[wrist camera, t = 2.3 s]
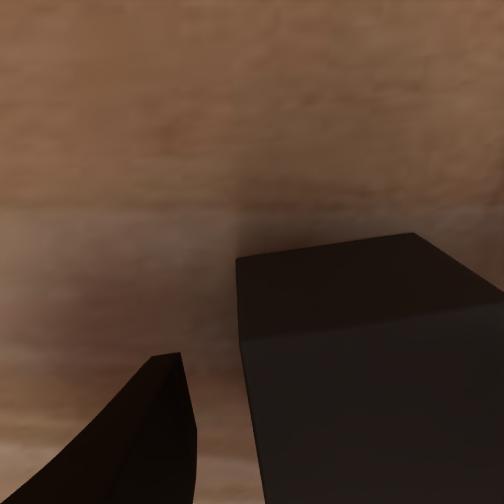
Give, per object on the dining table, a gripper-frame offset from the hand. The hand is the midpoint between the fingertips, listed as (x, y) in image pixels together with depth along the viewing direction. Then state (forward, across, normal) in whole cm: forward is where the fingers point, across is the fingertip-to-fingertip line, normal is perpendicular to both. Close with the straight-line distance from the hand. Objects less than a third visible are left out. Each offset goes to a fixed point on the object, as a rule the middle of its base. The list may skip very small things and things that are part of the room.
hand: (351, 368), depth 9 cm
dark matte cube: (+2, 0, 0) cm, 2 cm away
